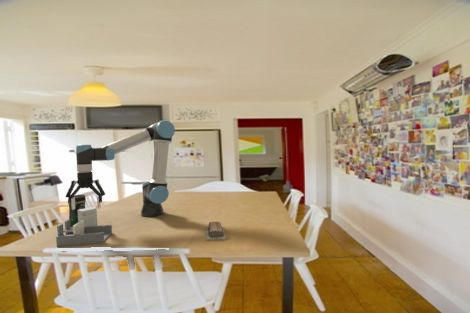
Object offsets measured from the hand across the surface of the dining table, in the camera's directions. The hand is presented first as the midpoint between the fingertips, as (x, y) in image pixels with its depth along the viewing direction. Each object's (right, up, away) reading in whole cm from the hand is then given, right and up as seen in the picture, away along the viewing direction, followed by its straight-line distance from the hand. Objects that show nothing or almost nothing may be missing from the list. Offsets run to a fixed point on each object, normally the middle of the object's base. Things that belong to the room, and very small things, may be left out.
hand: (86, 208), depth 147 cm
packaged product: (+75, -12, -10) cm, 76 cm away
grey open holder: (0, -13, -14) cm, 19 cm away
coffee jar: (-14, -13, +15) cm, 24 cm away
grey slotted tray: (+8, -14, -12) cm, 20 cm away
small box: (+1, -13, +1) cm, 13 cm away
